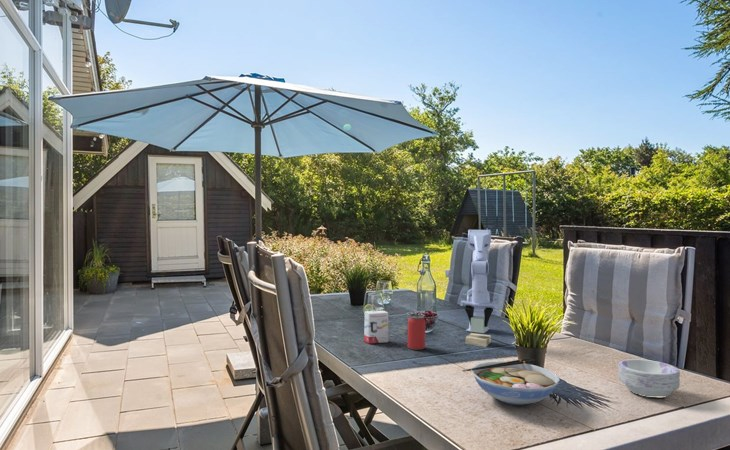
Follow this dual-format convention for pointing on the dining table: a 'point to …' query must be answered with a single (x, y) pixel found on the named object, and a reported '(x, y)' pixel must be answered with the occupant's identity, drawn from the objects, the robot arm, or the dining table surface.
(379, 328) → the ink box
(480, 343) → the pedestal
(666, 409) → the dining table surface
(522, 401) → the ramen bowl
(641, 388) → the paper bowls
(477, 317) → the cube
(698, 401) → the dining table surface
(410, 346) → the beer can
